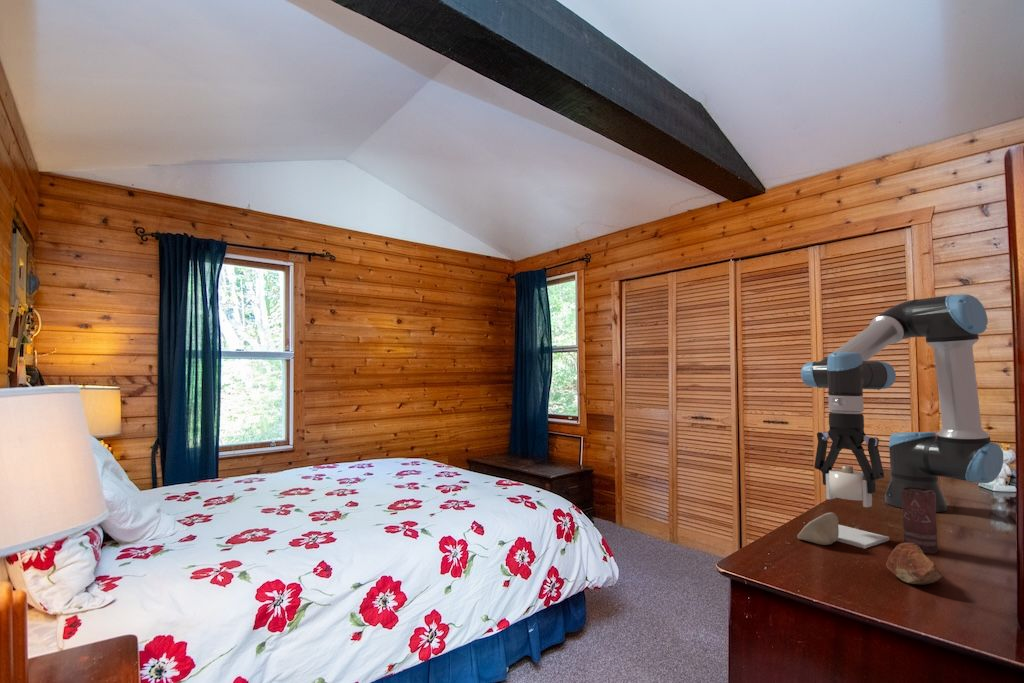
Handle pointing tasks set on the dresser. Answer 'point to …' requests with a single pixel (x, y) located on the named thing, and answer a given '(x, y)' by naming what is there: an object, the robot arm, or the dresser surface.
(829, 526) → the stone
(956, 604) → the dresser surface
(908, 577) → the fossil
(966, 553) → the dresser surface
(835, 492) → the cloche
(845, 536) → the mat
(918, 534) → the can
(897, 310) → the robot arm
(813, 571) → the dresser surface
